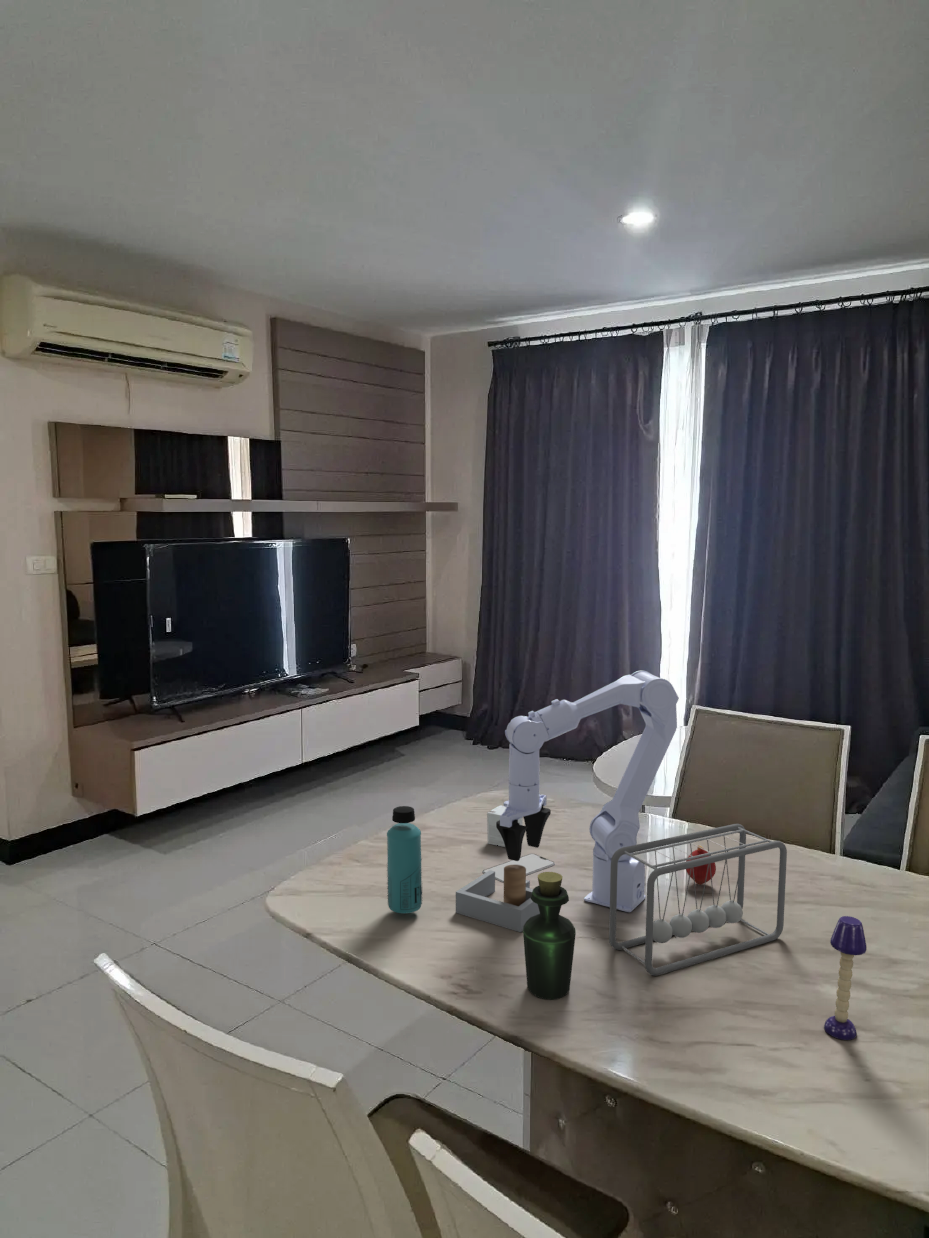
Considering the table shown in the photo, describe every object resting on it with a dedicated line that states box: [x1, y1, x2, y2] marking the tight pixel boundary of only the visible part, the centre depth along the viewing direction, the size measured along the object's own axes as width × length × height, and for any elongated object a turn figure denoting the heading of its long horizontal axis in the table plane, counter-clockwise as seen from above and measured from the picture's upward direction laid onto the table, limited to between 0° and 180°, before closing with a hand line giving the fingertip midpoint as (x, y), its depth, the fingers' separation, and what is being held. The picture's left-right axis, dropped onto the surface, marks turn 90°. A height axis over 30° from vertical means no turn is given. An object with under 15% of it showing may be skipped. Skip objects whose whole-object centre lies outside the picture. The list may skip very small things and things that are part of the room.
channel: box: [455, 870, 540, 933], centre depth 159 cm, size 14×12×4 cm
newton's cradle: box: [608, 823, 788, 977], centre depth 145 cm, size 30×10×18 cm, turn 117°
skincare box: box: [486, 805, 524, 848], centre depth 193 cm, size 6×6×7 cm
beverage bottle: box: [386, 805, 424, 914], centre depth 156 cm, size 6×7×20 cm
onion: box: [685, 845, 717, 886], centre depth 170 cm, size 6×6×8 cm
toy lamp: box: [823, 915, 868, 1041], centre depth 120 cm, size 5×5×17 cm
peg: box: [503, 865, 527, 906], centre depth 156 cm, size 4×4×9 cm
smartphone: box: [482, 853, 556, 883], centre depth 178 cm, size 7×1×15 cm
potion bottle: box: [522, 871, 576, 1000], centre depth 131 cm, size 8×8×18 cm
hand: (523, 852), depth 160 cm, fingers open, 7 cm apart
